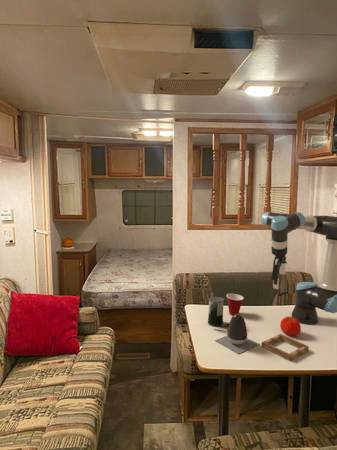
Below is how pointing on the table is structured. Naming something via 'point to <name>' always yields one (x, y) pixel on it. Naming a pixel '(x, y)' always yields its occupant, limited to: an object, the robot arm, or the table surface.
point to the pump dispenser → (237, 330)
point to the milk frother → (216, 311)
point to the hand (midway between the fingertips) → (279, 280)
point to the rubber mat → (237, 348)
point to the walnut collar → (289, 357)
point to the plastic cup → (234, 303)
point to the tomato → (290, 326)
